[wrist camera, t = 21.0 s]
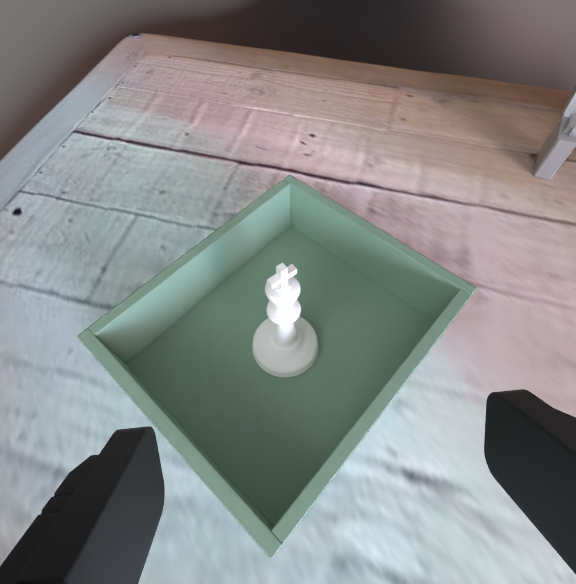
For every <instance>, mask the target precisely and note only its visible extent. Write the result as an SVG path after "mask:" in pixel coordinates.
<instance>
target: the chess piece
mask: <svg viewBox="0 0 576 584" xmlns="http://www.w3.org/2000/svg"><path fill="white" fill-rule="evenodd" d="M296 274H297V268H296V267H295V266H294V265H293V264H291V265H289V266H288V267H286V266H285V265H284V264H283V263H281V264H279V265H278V266H276V274H275V275H273V276H272V277H270V278H269V279H267V283H266V285H265V293H266V296H267V298H268V299H269V300H270V301H269V303H268V305H267V309H266V311H267V315H268V317H269V318H268V319H266V320H265V321H263V322H262V323H261V324H260V326H259V327H258V328H257V330H256V332H255V334H254V337H253V344H252V350H253V355H254V358H255V360H256V362H257V363H258V365H259V366H260V367H261V368H262V369H263V370H264V371H266V372H267V373H269V374H271V375H273V376H277V377H293V376H297V375H299V374H301V373H303V372H305V371H306V370H307V369H309V368H310V367H311V365H312V364H313V363H314V361H315V359H316V357H317V354H318V339H317V335H316V332H315V330H314V328H313V327H312V326H311V324H310V323H309V322H307V321H306V320H305V319H303V318H302V317H300V316H299V315H300V313H301V306H300V304H299V302H298V300H297V298H298V296H299V294H300V284H299V282H298V280H297V279H296V278H295V277H293V276H294V275H296Z"/></svg>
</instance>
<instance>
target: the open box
mask: <svg viewBox="0 0 576 584" xmlns="http://www.w3.org/2000/svg"><path fill="white" fill-rule="evenodd" d="M281 263H283V264H284V265H285V266H286V267H288V266H289V265H291V264H293V265H294V266H295V267H296V268H297V274H296V275H294V276H293V277H295V278H296V279H297V280H298V282H299V284H300V294H299V296H298V298H297V300H298V302H299V304H300V306H301V313H300V315H299V316H300V317H302V318H303V319H305V320H306V321H307V322H309V323H310V324H311V326H312V327H313V328H314V330H315V332H316V335H317V339H318V354H317V357H316V359H315V361H314V363H313V364H312V365H311V367H310V368H309V369H307V370H306V371H305V372H303V373H301V374H299V375H297V376H293V377H277V376H273V375H271V374H269V373H267V372H266V371H264V370H263V369H262V368H261V367H260V366H259V365H258V363H257V362H256V360H255V358H254V355H253V350H252V344H253V337H254V334H255V332H256V330H257V328H258V327H259V326H260V324H261V323H262V322H263V321H265V320H266V319H268V318H269V317H268V315H267V311H266V309H267V305H268V303H269V301H270V300H269V299H268V298H267V296H266V293H265V285H266V283H267V279H269V278H270V277H272V276H273V275H275V274H276V266H278V265H279V264H281ZM475 290H476V287H474V286H473V285H471V284H469V283H468V282H466V281H464V280H463V279H461V278H459V277H458V276H456V275H454V274H453V273H451V272H450V271H448V270H446V269H445V268H443V267H441V266H440V265H438V264H436V263H435V262H433V261H431V260H430V259H428V258H426V257H425V256H423V255H422V254H420V253H418V252H417V251H415V250H413V249H412V248H410V247H408V246H407V245H405V244H403V243H402V242H400V241H398V240H397V239H395V238H394V237H392V236H390V235H389V234H387V233H385V232H384V231H382V230H380V229H379V228H377V227H375V226H374V225H372V224H370V223H369V222H367V221H366V220H364V219H362V218H361V217H359V216H357V215H356V214H354V213H352V212H351V211H349V210H347V209H346V208H344V207H342V206H341V205H339V204H338V203H336V202H334V201H333V200H331V199H329V198H328V197H326V196H324V195H323V194H321V193H319V192H318V191H316V190H314V189H313V188H311V187H310V186H308V185H306V184H305V183H303V182H301V181H300V180H298V179H296V178H295V177H293V176H291V175H289V176H287V177H286V178H285V179H284V180H282V181H281V182H279V183H278V184H277V185H275V186H274V187H273V188H271V189H270V190H269V191H267V192H266V193H265V194H263V195H262V196H261V197H259V198H258V199H257V200H255V201H254V202H253V203H252V204H250V205H249V206H248V207H246V208H245V209H244V210H242V211H241V212H240V213H238V214H237V215H236V216H234V217H233V218H232V219H230V220H229V221H228V222H226V223H225V224H224V225H223V226H221V227H220V228H219V229H217V230H216V231H215V232H213V233H212V234H211V235H209V236H208V237H207V238H205V239H204V240H203V241H201V242H200V243H199V244H197V245H196V246H195V247H194V248H192V249H191V250H190V251H188V252H187V253H186V254H184V255H183V256H182V257H180V258H179V259H178V260H176V261H175V262H174V263H172V264H171V265H170V266H168V267H167V268H166V269H165V270H163V271H162V272H161V273H159V274H158V275H157V276H155V277H154V278H153V279H151V280H150V281H149V282H147V283H146V284H145V285H143V286H142V287H141V288H139V289H138V290H137V291H135V292H134V293H133V294H132V295H130V296H129V297H128V298H126V299H125V300H124V301H122V302H121V303H120V304H118V305H117V306H116V307H114V308H113V309H112V310H110V311H109V312H108V313H106V314H105V315H104V316H103V317H101V318H100V319H99V320H97V321H96V322H95V323H93V324H92V325H91V326H89V327H88V328H89V329H88V328H87V329H86V330H84V331H83V332H82V333H80V334H79V335H78V336H77V337H78V339H79V340H80V341H81V342H82V343H83V344H84V345H85V347H86V348H87V349H88V350H89V351H90V352H91V353H92V355H93V356H94V357H95V358H96V359H97V360H98V361H99V363H100V364H101V365H102V366H103V367H104V368H105V370H106V371H107V372H108V373H109V374H110V375H111V376H112V378H113V379H114V380H115V381H116V382H117V383H118V384H119V386H120V387H121V388H122V389H123V390H124V391H125V392H126V394H127V395H128V396H129V397H130V398H131V399H132V401H133V402H134V403H135V404H136V405H137V406H138V407H139V409H140V410H141V411H142V412H143V413H144V414H145V415H146V417H147V418H148V419H149V420H150V421H151V422H152V424H153V425H154V426H155V427H156V428H157V429H158V430H159V432H160V433H161V434H162V435H163V436H164V437H165V438H166V440H167V441H168V442H169V443H170V444H171V445H172V446H173V448H174V449H175V450H176V451H177V452H178V453H179V455H180V456H181V457H182V458H183V459H184V460H185V461H186V463H187V464H188V465H189V466H190V467H191V468H192V469H193V471H194V472H195V473H196V474H197V475H198V476H199V478H200V479H201V480H202V481H203V482H204V483H205V484H206V486H207V487H208V488H209V489H210V490H211V491H212V492H213V494H214V495H215V496H216V497H217V498H218V499H219V500H220V502H221V503H222V504H223V505H224V506H225V507H226V509H227V510H228V511H229V512H230V513H231V514H232V515H233V517H234V518H235V519H236V520H237V521H238V522H239V523H240V525H241V526H242V527H243V528H244V529H245V530H246V532H247V533H248V534H249V535H250V536H251V537H252V538H253V540H254V541H255V542H256V543H257V544H258V545H259V546H260V548H261V549H262V550H263V551H264V552H265V553H266V554H267V556H268V557H269V558H270V559H272V558H273V557H274V556H275V555H276V553H277V552H278V551H279V549H280V548H281V547H282V545H283V543H285V541H286V540H287V539H288V537H289V536H290V535H291V534H292V532H293V531H294V530H295V528H296V527H297V526H298V524H299V523H300V522H301V520H302V519H303V518H304V516H305V515H306V514H307V512H308V511H309V510H310V508H311V507H312V506H313V504H314V503H315V502H316V500H317V499H318V498H319V497H320V495H321V494H322V493H323V491H324V490H325V489H326V487H327V486H328V485H329V483H330V482H331V481H332V479H333V478H334V477H335V475H336V474H337V473H338V471H339V470H340V469H341V467H342V466H343V465H344V463H345V462H346V461H347V459H348V458H349V457H350V456H351V454H352V453H353V452H354V450H355V449H356V448H357V446H358V445H359V444H360V442H361V441H362V440H363V438H364V437H365V436H366V434H367V433H368V432H369V430H370V429H371V428H372V426H373V425H374V424H375V422H376V421H377V420H378V419H379V417H380V416H381V415H382V413H383V412H384V411H385V409H386V408H387V407H388V405H389V404H390V403H391V401H392V400H393V399H394V397H395V396H396V395H397V393H398V392H399V391H400V389H401V388H402V387H403V385H404V384H405V383H406V382H407V380H408V379H409V378H410V376H411V375H412V374H413V372H414V371H415V370H416V368H417V367H418V366H419V364H420V363H421V362H422V360H423V359H424V358H425V356H426V355H427V354H428V352H429V351H430V350H431V348H432V347H433V346H434V344H435V343H436V342H437V341H438V339H439V338H440V337H441V335H442V334H443V333H444V331H445V330H446V329H447V327H448V326H449V325H450V323H451V322H452V321H453V319H454V318H455V317H456V315H457V314H458V313H459V311H460V310H461V309H462V307H463V306H464V305H465V304H466V302H467V301H468V300H469V298H470V297H471V296H472V294H473V293H474V292H475Z"/></svg>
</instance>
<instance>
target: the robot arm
mask: <svg viewBox="0 0 576 584" xmlns="http://www.w3.org/2000/svg"><path fill="white" fill-rule="evenodd" d="M484 453H485V459H486V462H487V465H488V467H489V470H490V472H491V474H492V475H493V477H494V478H495V479H496V481H497V482H498V483H499V484H500V485H501V486H502V488H503V489H504V490H505V491H506V492H507V494H508V495H509V496H510V497H511V498H512V499H513V501H514V502H515V503H516V504H517V505H518V507H519V508H520V509H521V510H522V511H523V512H524V514H525V515H526V516H527V517H528V518H529V520H530V521H531V522H532V523H533V524H534V525H535V527H536V528H537V529H538V530H539V531H540V533H541V534H542V535H543V536H544V537H545V538H546V540H547V541H548V542H549V543H550V544H551V546H552V547H553V548H554V549H555V550H556V551H557V553H558V554H559V555H560V556H561V557H562V559H563V560H564V561H565V562H566V563H567V564H568V566H569V567H570V568H571V569H572V570H573V572H574V573H575V574H576V418H575V417H573V416H571V415H568V414H566V413H564V412H561V411H559V410H557V409H554V408H552V407H551V406H549V405H548V404H547V403H545V402H544V401H542V400H541V399H539V398H538V397H537V396H535V395H534V394H532V393H531V392H529V391H528V390H524V389H521V390H512V391H502V392H493V393H491V394H490V395H489V396H488V398H487V404H486V423H485V443H484ZM164 493H165V492H164V480H163V475H162V469H161V464H160V458H159V452H158V447H157V441H156V436H155V432H154V430H153V428H152V427H140V428H130V429H120V430H116V431H115V432H114V433H113V435H112V436H111V438H110V439H109V441H108V442H107V444H106V445H105V447H104V448H103V450H102V451H101V453H100V454H99V455H91V456H90V457H89V458H87V459H86V460H85V461H84V462H82V463H81V464H80V465H79V466H77V467H76V468H75V469H74V470H72V471H71V472H70V473H69V474H68V476H67V477H66V478H65V480H64V481H63V482H62V484H61V485H60V486H59V488H58V489H57V490H56V492H55V496H54V497H51V499H50V500H49V501H48V503H47V504H46V505H45V507H44V508H43V509H42V513H41V515H38V516H37V517H36V519H35V520H34V522H33V523H32V524H31V526H30V527H29V528H28V530H27V531H26V532H25V534H24V535H23V536H22V538H21V539H20V540H19V542H18V543H17V545H16V546H15V547H14V549H13V550H12V551H11V553H10V554H9V555H8V557H7V558H6V559H5V561H4V562H3V563H2V565H1V566H0V584H138V582H139V579H140V576H141V573H142V571H143V568H144V565H145V562H146V559H147V556H148V553H149V550H150V547H151V544H152V541H153V538H154V535H155V532H156V529H157V526H158V523H159V520H160V517H161V514H162V511H163V505H164Z"/></svg>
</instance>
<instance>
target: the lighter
mask: <svg viewBox="0 0 576 584" xmlns="http://www.w3.org/2000/svg"><path fill="white" fill-rule="evenodd" d="M561 114H562V115H563V117H562V118H561V119H560V121H559V122H558V124H557V125H556V127H555V128H554V130H553V131H552V133H551V134H550V136H549V137H548V139H547V140H546V142H545V143H544V145H543V146H542V148H541V149H540V151H539V152H538V155H537V159H536V163H535V168H534V172H533V175H534V176H536V177H539V178H543V179H546V180H551V179H552V177H553V176H554V175H555V173H556V172H557V171H558V169H559V168H560V167H561V165H562V164H563V163H564V161H565V160H566V159H567V157H568V156H569V155H570V153H571V152H572V151H573V149H574V148H575V147H576V87H575V89H574V91H573V93H572V94H571V96H570V98H569V100H568V102H567V103H566V105H565V107H564V109H563V111H562V112H561Z"/></svg>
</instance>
